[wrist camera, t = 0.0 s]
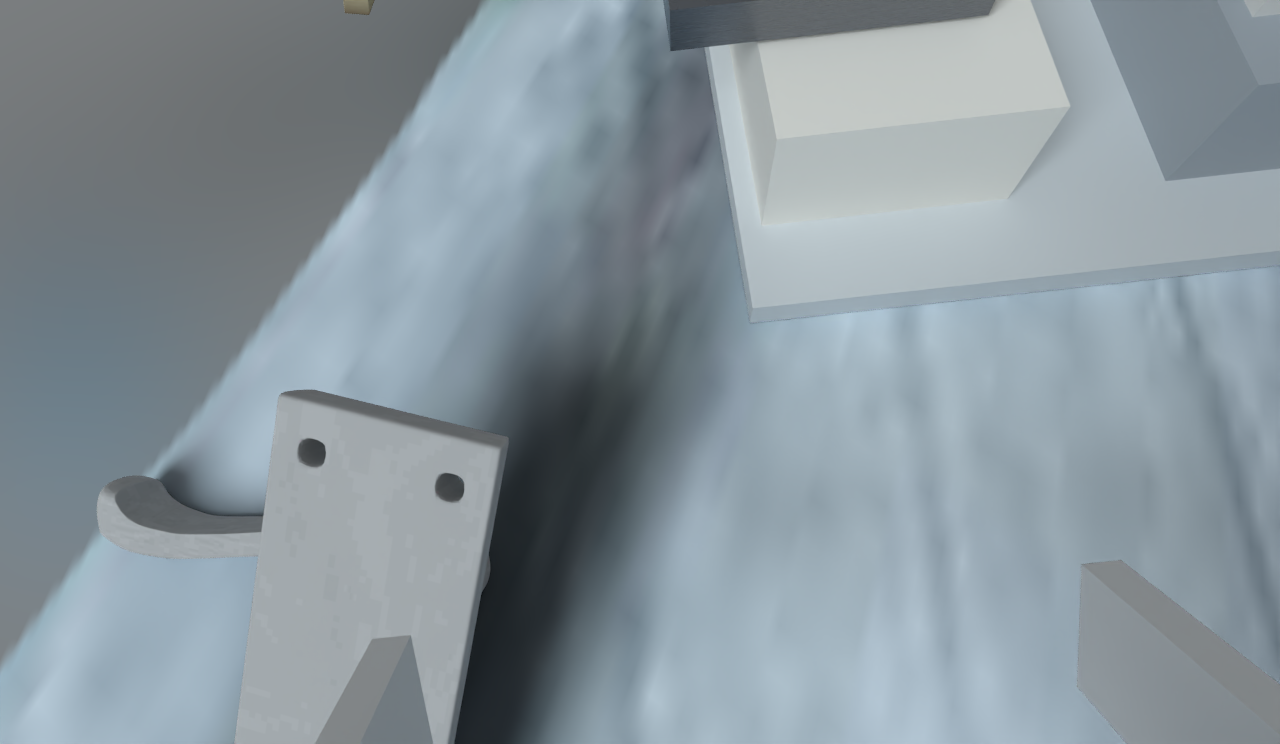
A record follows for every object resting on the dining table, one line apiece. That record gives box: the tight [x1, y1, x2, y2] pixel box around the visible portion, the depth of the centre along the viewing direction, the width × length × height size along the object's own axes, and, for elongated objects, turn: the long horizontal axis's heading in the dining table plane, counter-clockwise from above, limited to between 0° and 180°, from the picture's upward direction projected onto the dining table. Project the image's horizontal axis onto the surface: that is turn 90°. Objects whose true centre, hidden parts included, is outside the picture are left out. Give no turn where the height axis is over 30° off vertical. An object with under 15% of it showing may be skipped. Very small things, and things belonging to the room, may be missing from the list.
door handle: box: [97, 390, 509, 744], centre depth 28 cm, size 18×8×20 cm
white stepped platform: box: [705, 0, 1280, 323], centre depth 32 cm, size 20×30×12 cm, turn 96°
